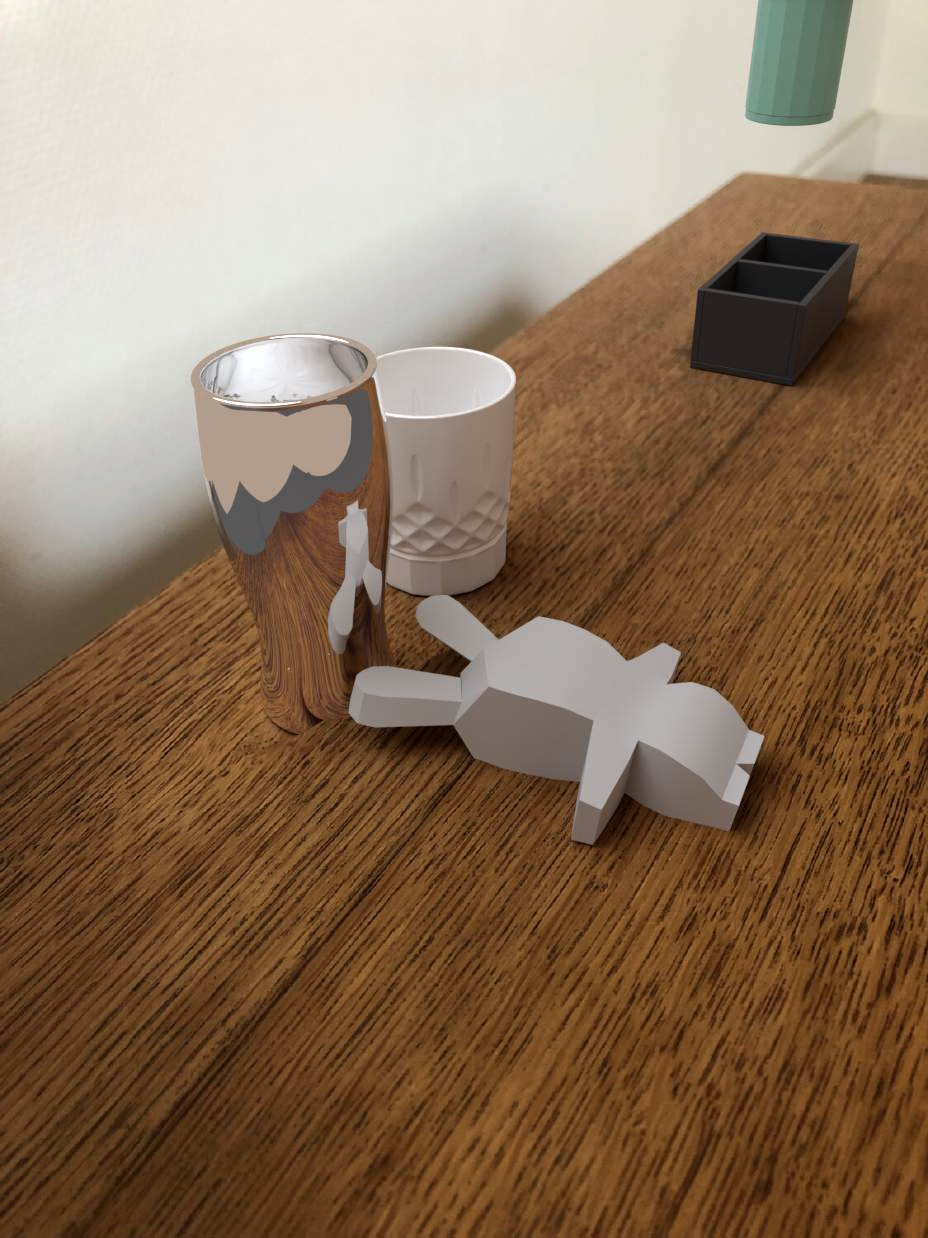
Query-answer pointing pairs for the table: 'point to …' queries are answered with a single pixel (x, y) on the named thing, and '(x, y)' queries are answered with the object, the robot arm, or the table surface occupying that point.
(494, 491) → the white cup
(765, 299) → the holder
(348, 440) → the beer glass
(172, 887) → the table surface
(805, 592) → the table surface
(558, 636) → the bunny figurine
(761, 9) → the bottle
